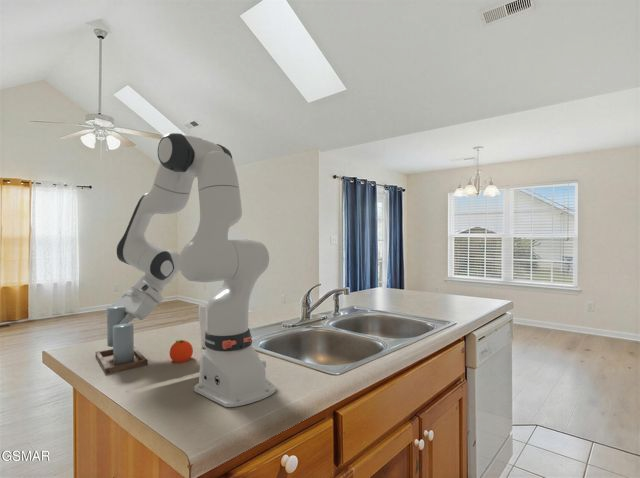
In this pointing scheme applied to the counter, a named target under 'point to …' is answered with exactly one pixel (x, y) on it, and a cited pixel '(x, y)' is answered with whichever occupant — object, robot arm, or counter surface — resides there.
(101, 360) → the tray
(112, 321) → the post
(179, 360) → the clementine
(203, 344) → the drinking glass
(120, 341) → the grey tall cylinder
